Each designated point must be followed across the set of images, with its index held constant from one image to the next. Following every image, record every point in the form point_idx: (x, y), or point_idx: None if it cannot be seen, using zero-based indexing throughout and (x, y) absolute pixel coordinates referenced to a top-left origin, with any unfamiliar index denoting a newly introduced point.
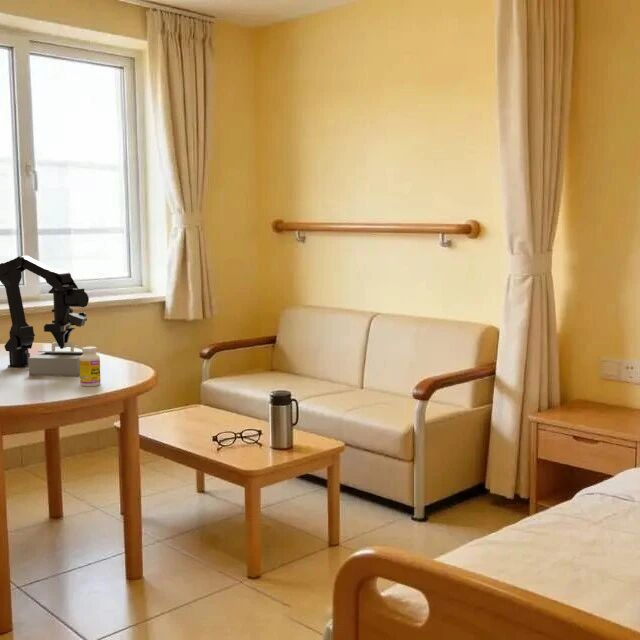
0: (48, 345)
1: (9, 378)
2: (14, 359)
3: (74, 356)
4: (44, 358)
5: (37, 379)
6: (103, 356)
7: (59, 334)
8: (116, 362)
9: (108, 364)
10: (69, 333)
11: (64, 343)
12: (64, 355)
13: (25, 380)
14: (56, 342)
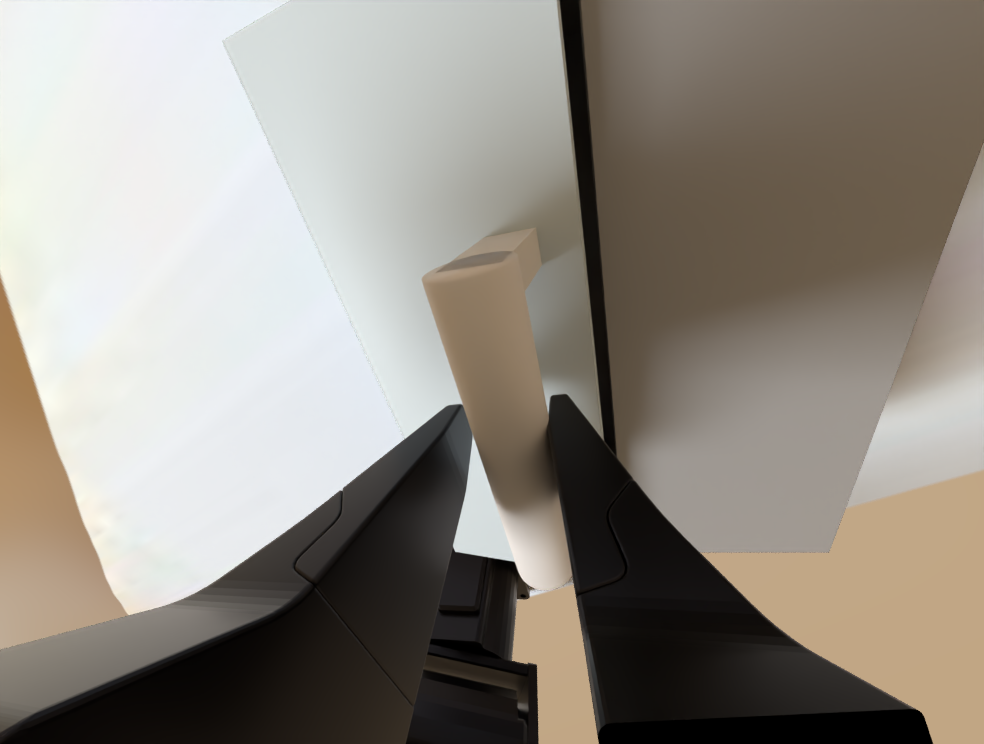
0: (140, 609)
1: (852, 490)
2: (515, 613)
3: (732, 35)
4: (874, 417)
5: (943, 300)
6: (31, 328)
7: (674, 721)
8: (18, 54)
9: (126, 70)
10: (251, 589)
11: (536, 433)
12: (642, 289)
13: (973, 369)
14: (536, 551)
